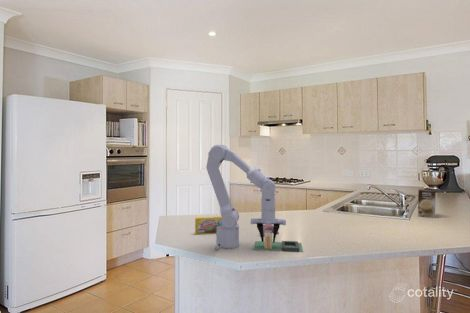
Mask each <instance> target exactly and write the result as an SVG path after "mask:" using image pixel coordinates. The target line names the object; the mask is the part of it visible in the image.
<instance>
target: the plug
mask: <svg viewBox="0 0 470 313" xmlns="http://www.w3.org/2000/svg"><path fill="white" fill-rule="evenodd" d="M272 242H273V233H272V230H265V232H264V248H266V249H272Z"/></svg>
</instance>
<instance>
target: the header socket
mask: <svg viewBox="0 0 470 313" xmlns="http://www.w3.org/2000/svg"><path fill="white" fill-rule="evenodd" d="M281 242H282V251H281V252H285V251H288V252H290V253H300V252H299V245H298V243H299V241H298V240H297V241H296V240H295V241H293V240H281ZM285 245H290V246H295V247H285ZM288 252H287V253H288Z"/></svg>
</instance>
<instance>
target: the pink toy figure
mask: <svg viewBox="0 0 470 313" xmlns="http://www.w3.org/2000/svg"><path fill="white" fill-rule="evenodd" d="M273 226H274V225H273V224H263V236H264V232H265V230H272V234H273ZM276 235H279V231H278V232H277V234H276Z"/></svg>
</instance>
